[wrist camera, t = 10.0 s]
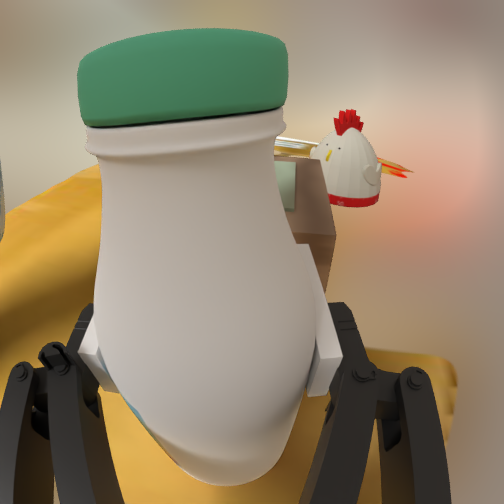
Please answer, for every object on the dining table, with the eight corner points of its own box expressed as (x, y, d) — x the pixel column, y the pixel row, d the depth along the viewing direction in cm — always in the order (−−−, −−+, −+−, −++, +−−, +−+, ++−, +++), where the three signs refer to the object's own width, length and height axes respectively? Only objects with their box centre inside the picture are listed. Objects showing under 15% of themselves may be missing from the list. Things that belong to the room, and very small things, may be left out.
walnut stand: (129, 306, 27) (102, 216, 22) (185, 218, 42) (178, 151, 36) (316, 329, 25) (336, 231, 20) (312, 227, 40) (320, 157, 34)
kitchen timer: (288, 186, 52) (292, 104, 44) (333, 172, 60) (340, 103, 51) (352, 215, 44) (366, 118, 35) (390, 195, 51) (404, 118, 42)
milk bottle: (294, 398, 19) (352, 55, 7) (271, 499, 13) (426, -4, 1) (190, 375, 20) (136, 60, 9) (150, 465, 14) (-53, 104, 3)
